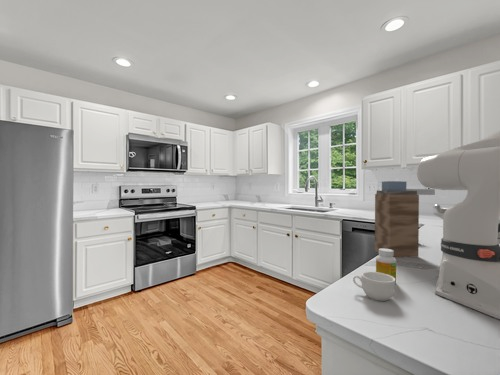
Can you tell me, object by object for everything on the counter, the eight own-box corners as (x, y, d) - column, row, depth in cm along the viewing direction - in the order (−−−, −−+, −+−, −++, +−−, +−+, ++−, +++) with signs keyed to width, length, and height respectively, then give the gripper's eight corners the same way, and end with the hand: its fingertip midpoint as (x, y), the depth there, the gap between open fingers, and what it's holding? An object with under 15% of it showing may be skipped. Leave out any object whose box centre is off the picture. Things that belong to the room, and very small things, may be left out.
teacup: (397, 296, 65) (397, 275, 65) (392, 307, 59) (393, 284, 59) (356, 286, 71) (356, 268, 71) (349, 296, 65) (349, 275, 65)
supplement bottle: (393, 286, 71) (393, 253, 71) (373, 281, 75) (373, 249, 75) (398, 281, 75) (398, 249, 75) (379, 277, 79) (379, 246, 79)
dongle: (435, 194, 107) (436, 182, 108) (389, 194, 105) (389, 181, 105) (426, 194, 112) (426, 182, 112) (381, 194, 110) (381, 181, 110)
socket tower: (419, 256, 104) (420, 191, 104) (389, 257, 102) (390, 190, 102) (402, 250, 114) (402, 190, 114) (374, 251, 112) (375, 190, 112)
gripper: (450, 213, 122) (428, 199, 121) (495, 218, 102) (470, 201, 101) (444, 224, 122) (422, 210, 121) (488, 231, 102) (463, 215, 100)
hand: (444, 206), depth 111 cm, fingers open, 8 cm apart
